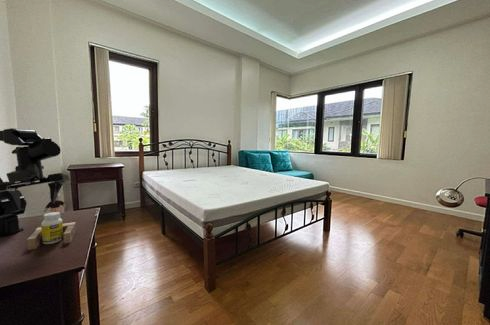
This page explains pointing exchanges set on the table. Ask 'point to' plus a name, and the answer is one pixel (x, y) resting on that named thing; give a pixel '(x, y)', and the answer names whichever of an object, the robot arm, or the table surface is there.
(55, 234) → the supplement bottle
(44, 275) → the table surface
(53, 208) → the grandmother figurine
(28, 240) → the notched board
